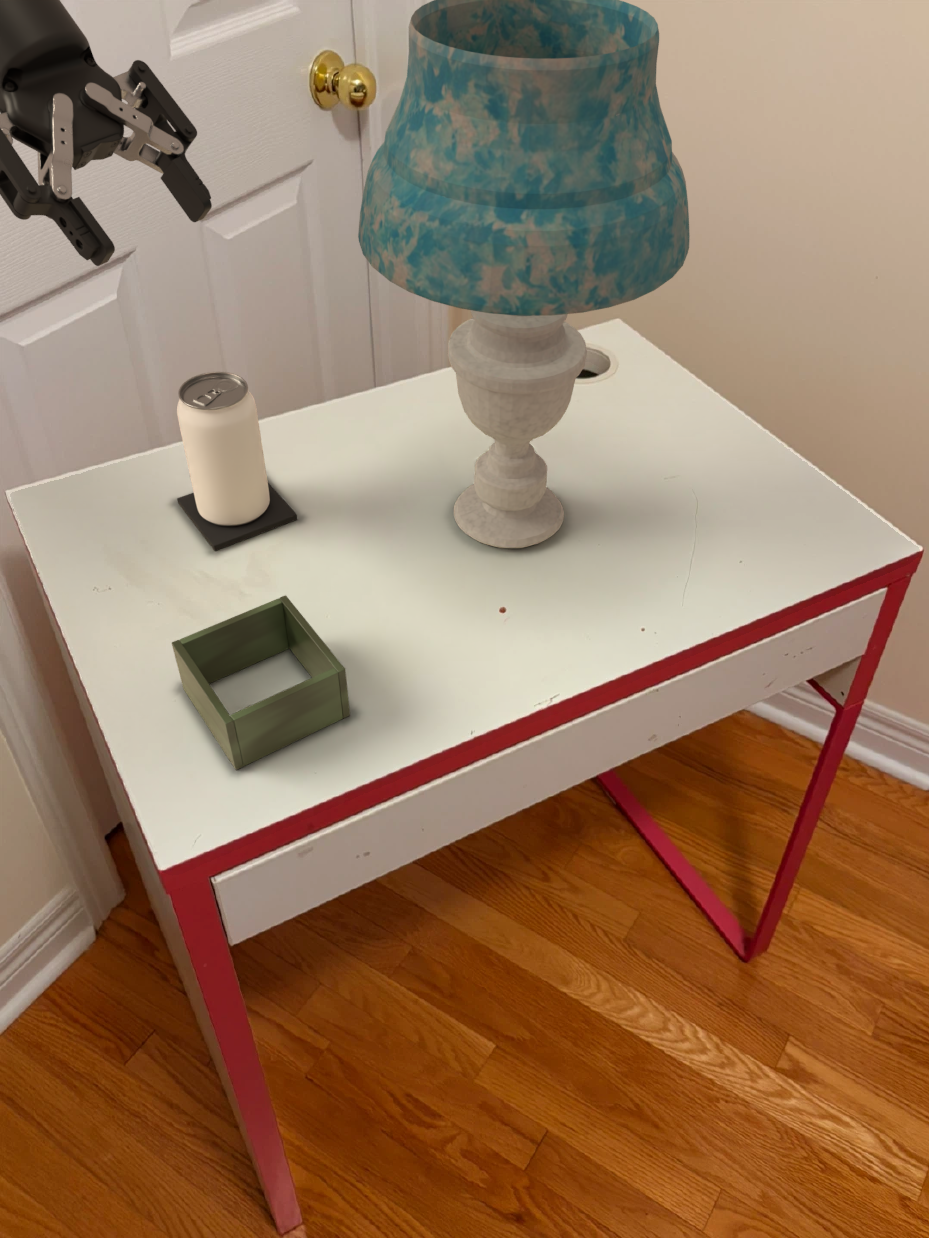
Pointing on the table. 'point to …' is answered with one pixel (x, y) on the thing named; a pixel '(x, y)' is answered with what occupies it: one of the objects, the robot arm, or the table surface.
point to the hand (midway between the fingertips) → (157, 236)
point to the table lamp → (524, 214)
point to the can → (223, 448)
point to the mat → (229, 535)
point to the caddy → (280, 713)
